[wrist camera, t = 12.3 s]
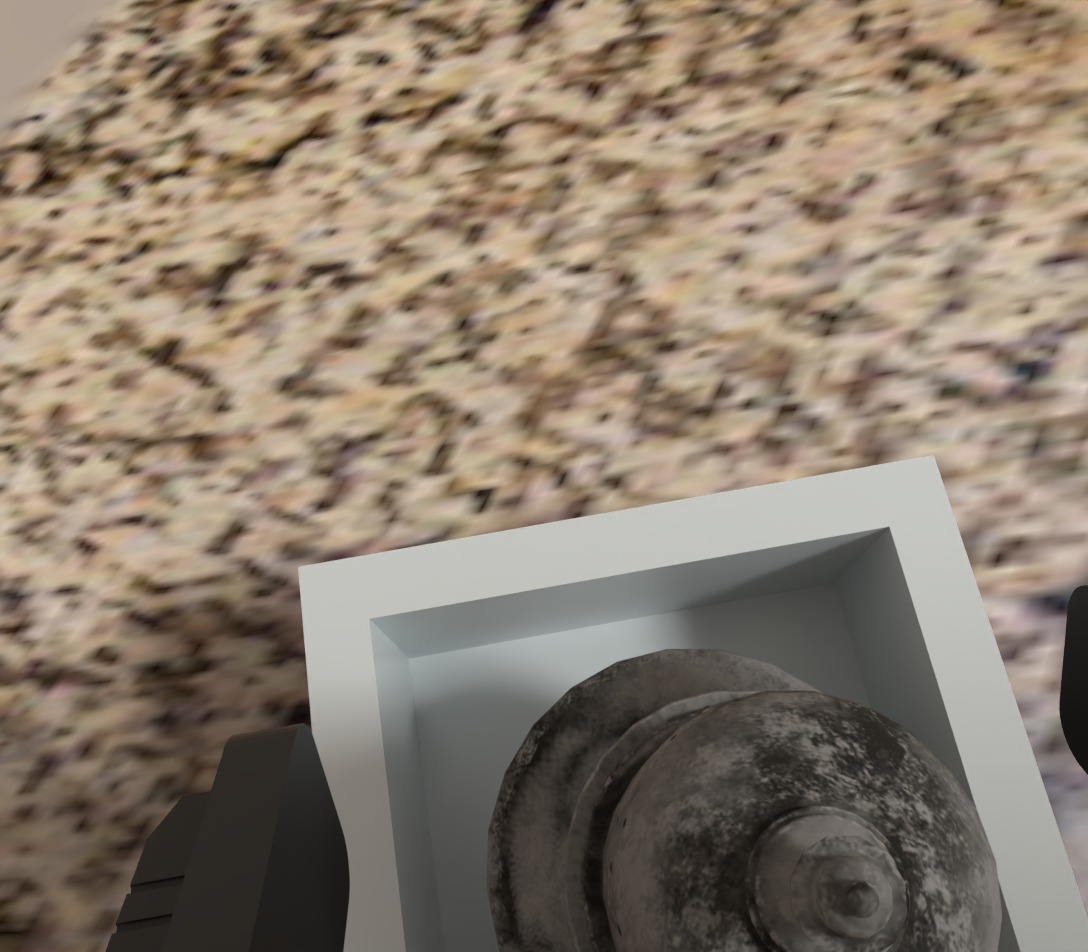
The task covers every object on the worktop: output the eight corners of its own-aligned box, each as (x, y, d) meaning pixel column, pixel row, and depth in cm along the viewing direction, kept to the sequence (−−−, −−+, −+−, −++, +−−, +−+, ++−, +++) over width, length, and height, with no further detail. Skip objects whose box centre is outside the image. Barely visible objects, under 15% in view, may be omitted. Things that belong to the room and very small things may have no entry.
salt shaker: (435, 886, 17) (123, 988, 5) (642, 617, 18) (734, 259, 7) (720, 1143, 15) (1091, 1999, 4) (921, 829, 17) (1608, 814, 5)
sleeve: (859, 537, 20) (933, 454, 15) (1030, 1116, 16) (1187, 1215, 12) (360, 626, 19) (298, 567, 15) (425, 1231, 16) (366, 1372, 12)
